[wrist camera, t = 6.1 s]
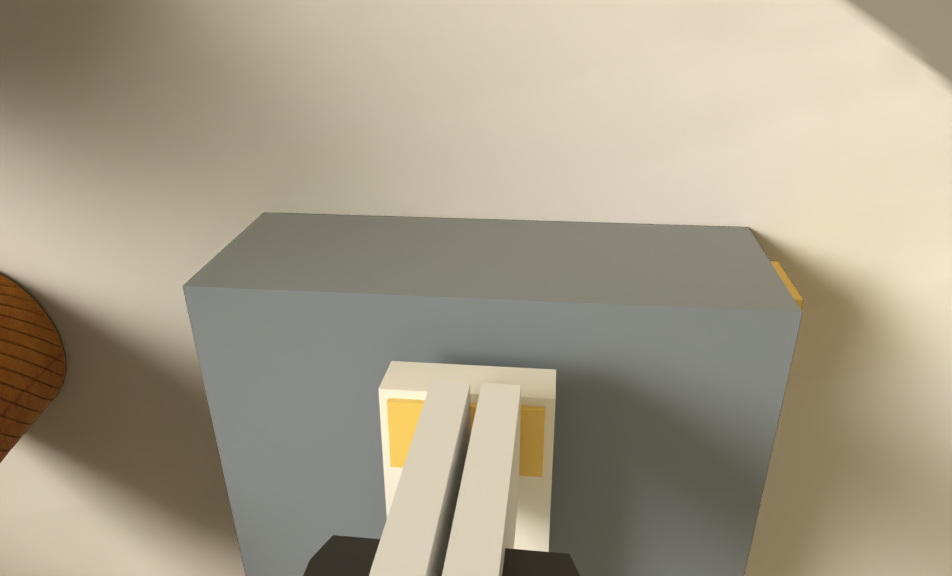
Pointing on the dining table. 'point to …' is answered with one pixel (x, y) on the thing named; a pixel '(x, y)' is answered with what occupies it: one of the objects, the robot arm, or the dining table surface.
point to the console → (504, 345)
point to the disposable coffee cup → (25, 363)
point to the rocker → (537, 416)
